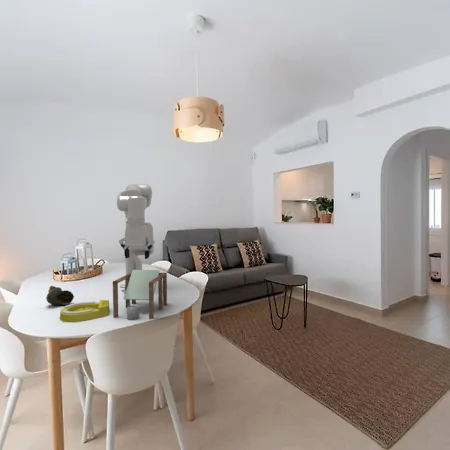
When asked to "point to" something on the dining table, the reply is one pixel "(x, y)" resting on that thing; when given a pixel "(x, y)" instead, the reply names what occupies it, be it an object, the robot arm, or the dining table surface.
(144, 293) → the pale green flat block
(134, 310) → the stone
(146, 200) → the robot arm
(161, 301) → the frame
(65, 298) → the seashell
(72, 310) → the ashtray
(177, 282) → the dining table surface
